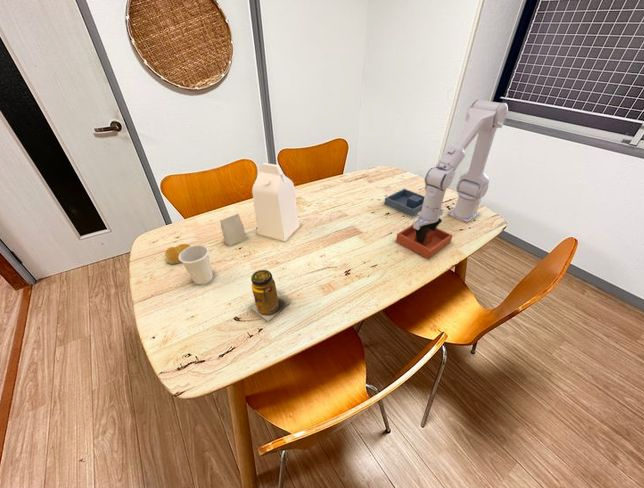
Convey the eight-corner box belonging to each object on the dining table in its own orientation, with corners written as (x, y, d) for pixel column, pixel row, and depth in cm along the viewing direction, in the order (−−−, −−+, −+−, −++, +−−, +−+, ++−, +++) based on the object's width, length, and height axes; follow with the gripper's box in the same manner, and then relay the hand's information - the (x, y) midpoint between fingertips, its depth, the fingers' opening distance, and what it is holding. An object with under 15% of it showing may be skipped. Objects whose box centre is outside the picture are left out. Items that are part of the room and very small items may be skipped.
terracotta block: (421, 236, 102) (423, 226, 99) (431, 241, 99) (434, 231, 96) (414, 241, 100) (416, 230, 97) (424, 246, 97) (427, 236, 94)
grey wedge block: (246, 238, 104) (240, 215, 98) (229, 246, 100) (222, 222, 94) (241, 234, 106) (236, 211, 100) (225, 241, 103) (218, 218, 96)
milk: (299, 225, 110) (294, 161, 94) (284, 241, 102) (275, 173, 86) (274, 219, 114) (264, 156, 98) (257, 234, 106) (244, 168, 90)
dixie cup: (201, 291, 83) (190, 266, 77) (183, 281, 86) (172, 256, 80) (222, 274, 88) (214, 250, 82) (205, 266, 92) (196, 241, 86)
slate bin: (403, 195, 129) (404, 188, 127) (430, 207, 120) (432, 199, 118) (384, 205, 122) (385, 197, 120) (411, 218, 113) (413, 210, 111)
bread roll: (197, 257, 95) (193, 248, 93) (169, 267, 92) (164, 258, 89) (191, 245, 101) (188, 236, 98) (165, 254, 97) (160, 245, 95)
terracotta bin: (417, 227, 107) (419, 220, 105) (450, 243, 99) (452, 235, 97) (395, 241, 100) (397, 233, 98) (428, 259, 92) (430, 251, 90)
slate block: (412, 203, 121) (413, 194, 118) (420, 207, 119) (422, 198, 116) (405, 207, 119) (407, 198, 116) (414, 211, 116) (416, 201, 114)
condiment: (250, 308, 77) (242, 277, 70) (273, 291, 82) (267, 260, 75) (268, 321, 73) (260, 290, 66) (290, 303, 78) (286, 271, 71)
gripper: (433, 193, 96) (425, 226, 105) (408, 207, 89) (401, 241, 97) (452, 200, 92) (442, 234, 100) (427, 215, 85) (419, 250, 93)
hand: (423, 238), depth 99 cm, fingers closed on terracotta block, 4 cm apart
